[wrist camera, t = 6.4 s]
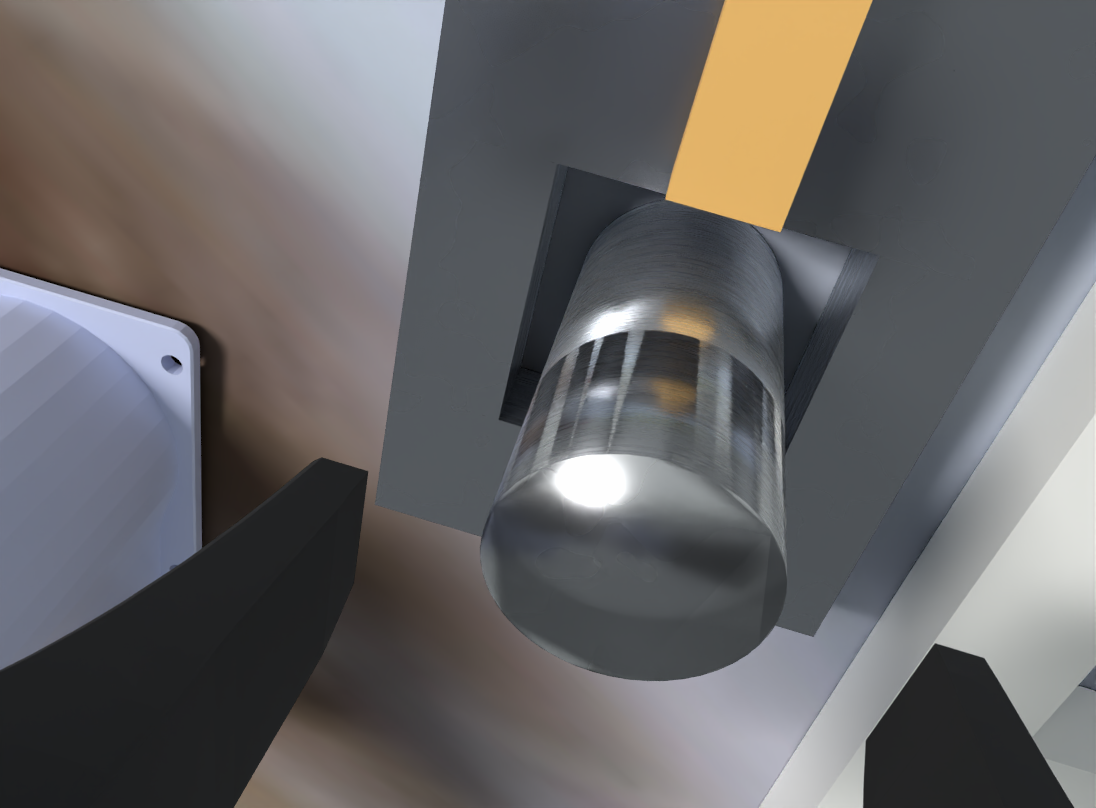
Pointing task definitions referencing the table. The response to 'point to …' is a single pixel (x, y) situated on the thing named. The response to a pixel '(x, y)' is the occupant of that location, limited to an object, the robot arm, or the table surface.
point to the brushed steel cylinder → (652, 457)
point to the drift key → (763, 105)
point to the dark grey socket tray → (817, 210)
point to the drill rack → (992, 593)
